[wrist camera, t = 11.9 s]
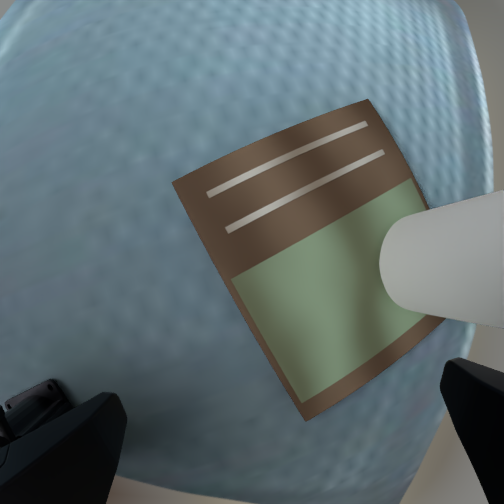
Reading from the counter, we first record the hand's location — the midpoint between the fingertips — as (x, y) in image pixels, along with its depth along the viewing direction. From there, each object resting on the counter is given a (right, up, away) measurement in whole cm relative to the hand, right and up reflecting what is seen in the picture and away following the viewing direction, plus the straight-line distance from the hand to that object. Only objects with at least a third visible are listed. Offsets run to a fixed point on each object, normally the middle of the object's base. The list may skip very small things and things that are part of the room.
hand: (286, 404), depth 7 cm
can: (+10, +3, +12) cm, 16 cm away
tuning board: (+5, +4, +12) cm, 14 cm away
